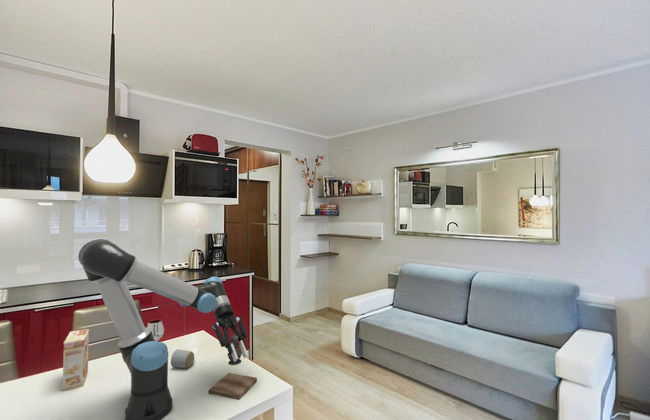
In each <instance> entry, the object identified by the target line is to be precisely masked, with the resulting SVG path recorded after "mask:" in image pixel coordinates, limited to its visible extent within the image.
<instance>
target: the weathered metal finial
mask: <svg viewBox="0 0 650 420" xmlns="http://www.w3.org/2000/svg"><path fill="white" fill-rule="evenodd" d="M232 343H233V346H234V348H235V351H236V354H237V356H238V359H237V361H236V362H234V360H233V357H232V355H231V354H229V352H228V353H227V357H228V360H229V361H228V362H227V363H228V365H229V366H237V365H240V364H241V363H242V359H241V357H242V352H241V350H239V349H240V348H239V340H238V336H237V335H235V333H234V332H233V335H232V336H231V337H230V345H231V344H232Z"/></svg>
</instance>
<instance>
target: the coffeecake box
mask: <svg viewBox="0 0 650 420" xmlns="http://www.w3.org/2000/svg"><path fill="white" fill-rule="evenodd" d="M89 330H90V329H89V328H84V329H78V330H73V331H69V333H68V335H67V336H66V337H65V340H64V341H63V352H62V353H63V355H62V356H63V358H62V359H63V365H62V367H63V368H62V392H63V391H67V390H72V389H73V390H74V389H77V388H82V387H84V385H85V382H86V379H87V377H88V372H89V340H90V339H89V336H90V335H89V333H90V331H89Z"/></svg>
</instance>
